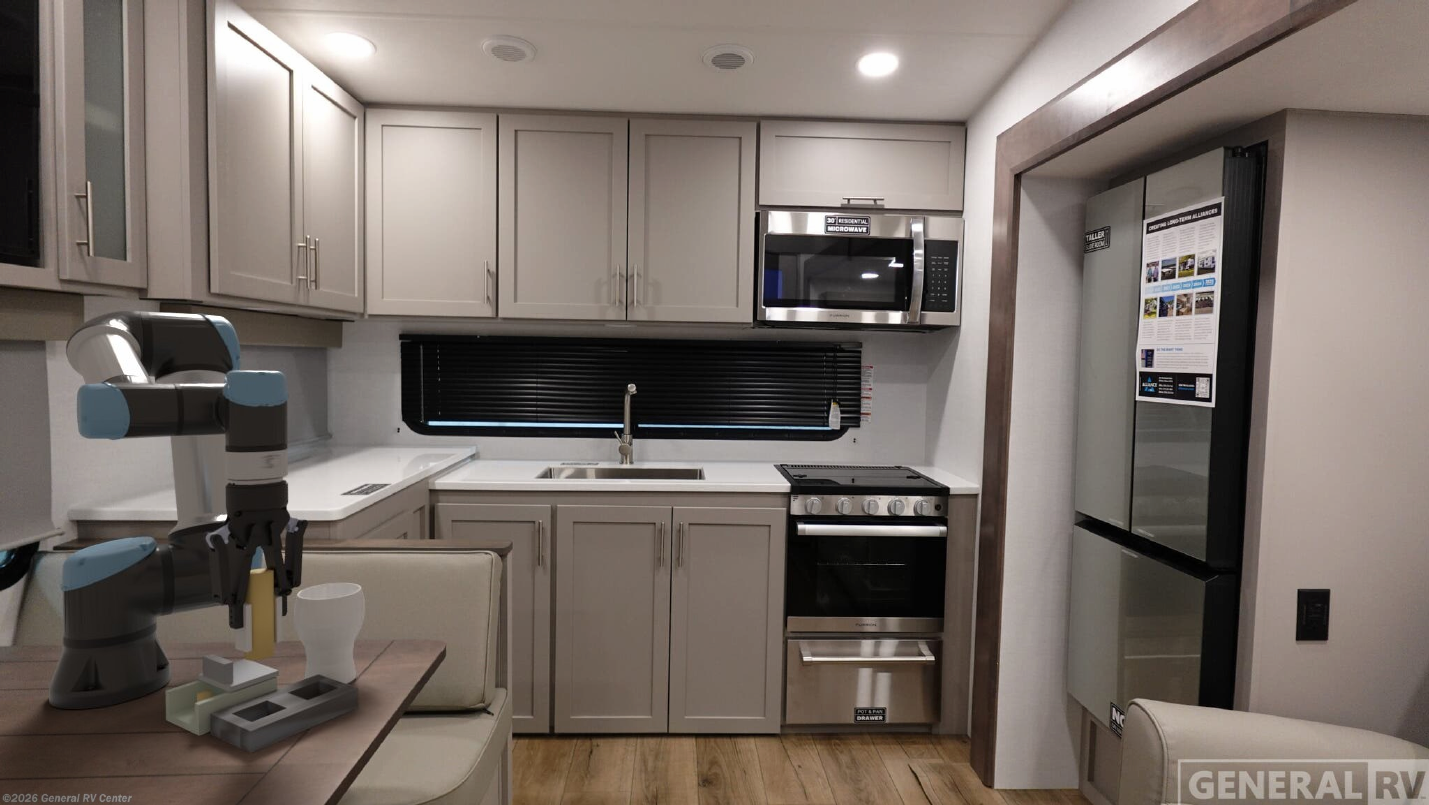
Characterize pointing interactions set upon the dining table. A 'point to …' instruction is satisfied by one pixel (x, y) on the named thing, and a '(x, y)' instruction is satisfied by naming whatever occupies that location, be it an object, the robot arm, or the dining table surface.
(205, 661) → the lid
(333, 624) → the cup
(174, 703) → the pale green box tray
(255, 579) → the peg
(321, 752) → the dining table surface
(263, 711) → the peg board
